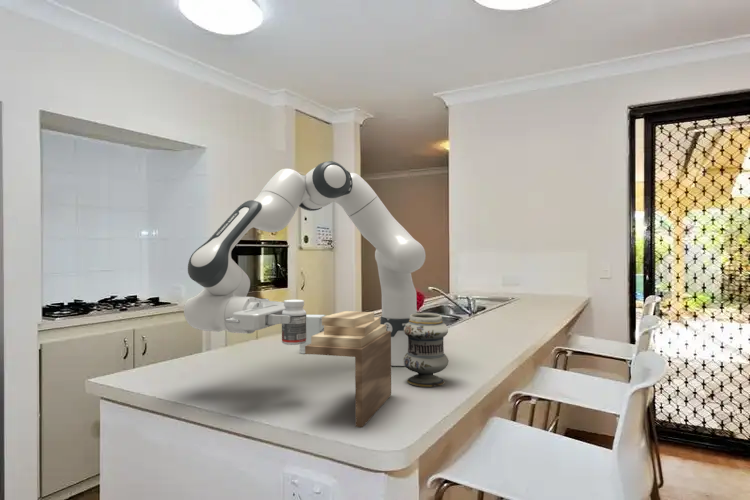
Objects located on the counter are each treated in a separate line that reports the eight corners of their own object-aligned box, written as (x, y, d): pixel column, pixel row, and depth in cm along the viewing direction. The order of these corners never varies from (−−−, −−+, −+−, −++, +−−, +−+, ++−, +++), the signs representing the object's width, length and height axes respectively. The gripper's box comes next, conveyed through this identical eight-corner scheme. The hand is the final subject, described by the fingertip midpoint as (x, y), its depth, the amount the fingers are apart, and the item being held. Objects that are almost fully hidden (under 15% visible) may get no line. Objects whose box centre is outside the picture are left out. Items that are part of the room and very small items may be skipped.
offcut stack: (311, 344, 101) (311, 319, 101) (343, 330, 119) (343, 308, 119) (360, 347, 98) (360, 321, 98) (386, 332, 116) (386, 309, 116)
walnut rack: (305, 421, 100) (305, 346, 100) (343, 391, 121) (343, 329, 121) (362, 427, 96) (361, 349, 96) (391, 395, 117) (390, 331, 117)
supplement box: (319, 354, 163) (319, 317, 163) (299, 353, 164) (298, 316, 164) (326, 350, 170) (326, 314, 170) (306, 349, 172) (306, 313, 172)
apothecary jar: (421, 391, 120) (421, 319, 120) (394, 380, 130) (394, 314, 130) (458, 383, 127) (457, 315, 127) (429, 373, 137) (429, 310, 137)
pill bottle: (283, 340, 115) (283, 299, 115) (307, 340, 116) (307, 299, 116) (280, 345, 110) (280, 301, 110) (305, 345, 110) (305, 301, 110)
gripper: (219, 307, 107) (275, 309, 102) (266, 297, 126) (315, 299, 122) (219, 335, 107) (275, 338, 102) (266, 321, 126) (315, 324, 122)
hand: (297, 317), depth 112 cm, fingers closed on pill bottle, 6 cm apart
